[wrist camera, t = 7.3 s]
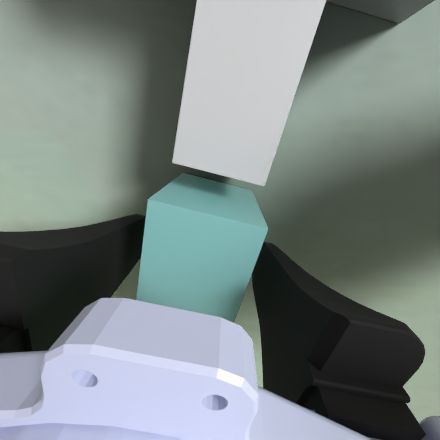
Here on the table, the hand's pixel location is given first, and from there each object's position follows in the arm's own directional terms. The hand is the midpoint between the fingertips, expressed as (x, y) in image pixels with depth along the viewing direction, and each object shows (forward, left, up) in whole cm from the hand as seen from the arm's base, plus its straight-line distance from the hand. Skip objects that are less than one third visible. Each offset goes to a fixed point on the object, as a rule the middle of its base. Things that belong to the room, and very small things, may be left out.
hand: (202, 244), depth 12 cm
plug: (0, -5, -1) cm, 5 cm away
